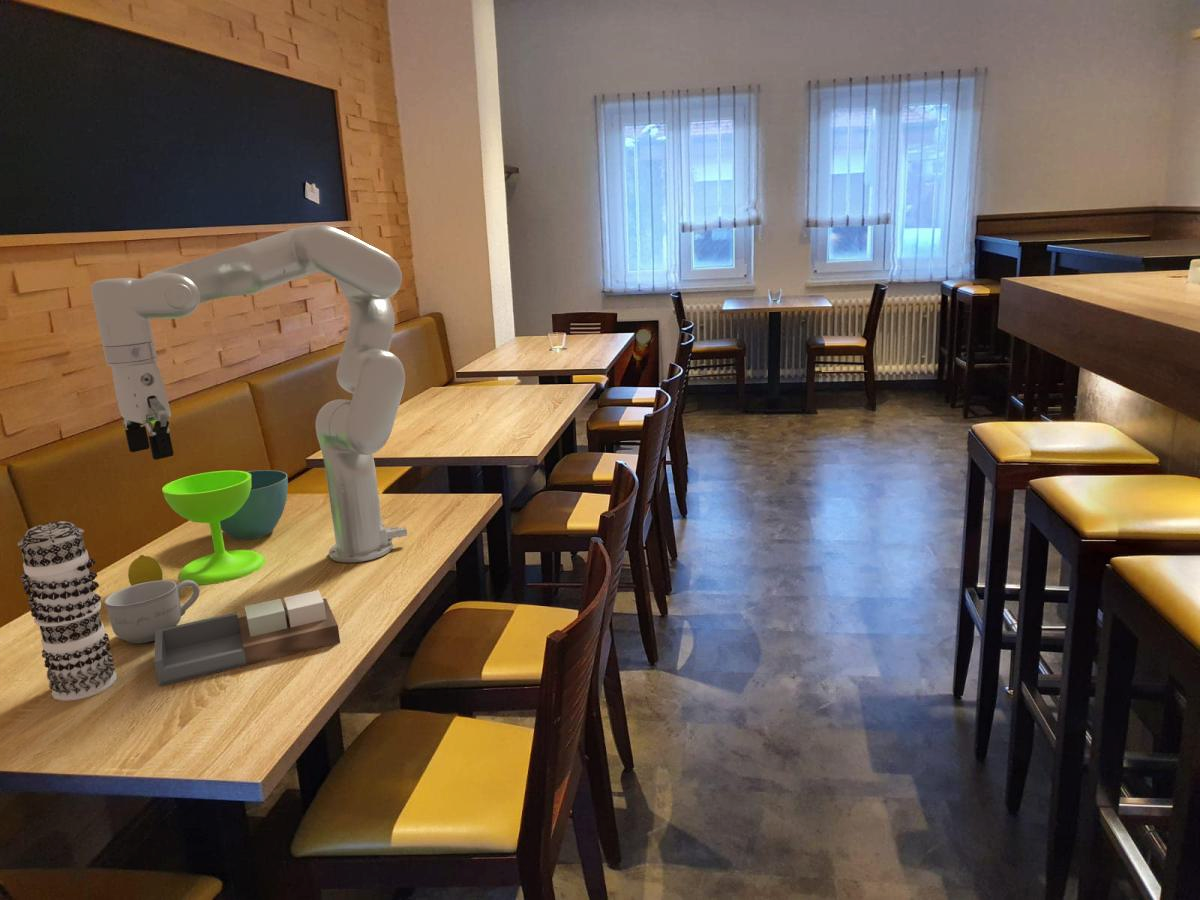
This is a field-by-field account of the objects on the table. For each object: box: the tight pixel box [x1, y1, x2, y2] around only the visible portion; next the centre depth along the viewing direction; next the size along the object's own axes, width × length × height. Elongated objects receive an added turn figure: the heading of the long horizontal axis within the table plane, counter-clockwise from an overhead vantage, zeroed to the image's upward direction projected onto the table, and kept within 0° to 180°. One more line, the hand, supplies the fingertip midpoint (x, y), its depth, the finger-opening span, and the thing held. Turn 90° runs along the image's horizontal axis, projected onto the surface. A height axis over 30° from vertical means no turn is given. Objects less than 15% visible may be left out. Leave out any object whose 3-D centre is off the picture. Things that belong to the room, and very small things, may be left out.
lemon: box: [127, 554, 164, 586], centre depth 159 cm, size 6×6×8 cm
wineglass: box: [161, 470, 266, 585], centre depth 169 cm, size 16×16×18 cm
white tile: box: [283, 589, 326, 627], centre depth 139 cm, size 6×6×3 cm
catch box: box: [153, 611, 247, 688], centre depth 133 cm, size 12×12×4 cm
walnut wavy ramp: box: [238, 597, 341, 666], centre depth 139 cm, size 14×12×3 cm
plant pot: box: [220, 469, 289, 541], centre depth 189 cm, size 18×18×12 cm
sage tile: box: [244, 598, 287, 637], centre depth 137 cm, size 6×6×3 cm
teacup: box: [104, 579, 201, 644], centre depth 143 cm, size 14×11×8 cm
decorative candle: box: [17, 520, 118, 702], centre depth 124 cm, size 9×9×25 cm
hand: (151, 453), depth 146 cm, fingers open, 9 cm apart
